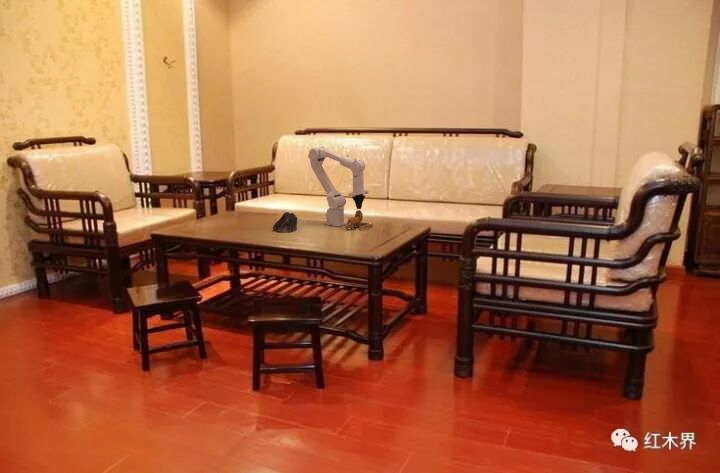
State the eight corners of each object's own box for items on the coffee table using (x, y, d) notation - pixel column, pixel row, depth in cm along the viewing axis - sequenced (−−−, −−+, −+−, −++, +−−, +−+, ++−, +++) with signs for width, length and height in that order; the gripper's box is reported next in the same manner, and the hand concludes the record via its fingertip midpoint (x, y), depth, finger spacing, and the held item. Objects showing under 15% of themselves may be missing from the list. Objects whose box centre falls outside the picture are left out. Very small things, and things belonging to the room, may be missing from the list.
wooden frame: (347, 228, 311) (347, 224, 310) (359, 225, 318) (359, 221, 318) (361, 230, 305) (361, 226, 305) (372, 227, 313) (372, 223, 312)
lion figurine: (356, 225, 318) (356, 209, 316) (364, 226, 315) (364, 210, 313) (343, 230, 305) (343, 214, 303) (352, 231, 303) (352, 214, 301)
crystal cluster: (274, 235, 300) (275, 216, 297) (270, 227, 312) (271, 209, 310) (300, 235, 304) (301, 216, 302) (294, 227, 317) (295, 209, 314)
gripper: (355, 185, 300) (356, 211, 303) (372, 182, 311) (373, 207, 314) (344, 184, 305) (345, 210, 308) (362, 181, 316) (363, 206, 319)
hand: (358, 208), depth 311 cm, fingers closed
